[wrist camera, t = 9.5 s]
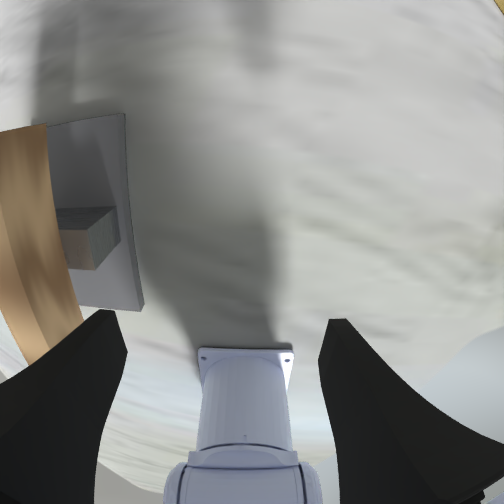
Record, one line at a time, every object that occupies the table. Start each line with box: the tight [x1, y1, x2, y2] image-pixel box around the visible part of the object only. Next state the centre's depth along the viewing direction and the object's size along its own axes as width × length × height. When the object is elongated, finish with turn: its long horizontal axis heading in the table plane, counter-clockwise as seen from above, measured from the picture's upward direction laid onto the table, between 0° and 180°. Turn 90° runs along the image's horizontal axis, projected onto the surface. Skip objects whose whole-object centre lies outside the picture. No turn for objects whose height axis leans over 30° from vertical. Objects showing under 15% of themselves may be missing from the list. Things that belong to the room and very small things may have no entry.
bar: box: [0, 123, 84, 366], centre depth 12 cm, size 14×3×4 cm, turn 178°
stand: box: [46, 114, 144, 312], centre depth 16 cm, size 14×8×5 cm, turn 178°
